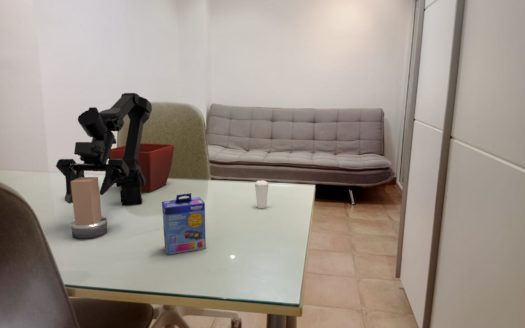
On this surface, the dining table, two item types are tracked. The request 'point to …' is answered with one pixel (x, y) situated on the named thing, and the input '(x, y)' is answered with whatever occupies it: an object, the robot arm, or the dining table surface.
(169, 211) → the ink cartridge box
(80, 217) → the tan rectangular block
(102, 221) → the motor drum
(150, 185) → the plant pot
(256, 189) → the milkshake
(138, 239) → the dining table surface
